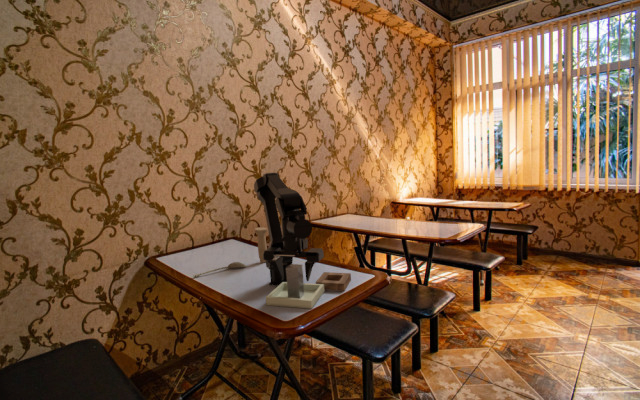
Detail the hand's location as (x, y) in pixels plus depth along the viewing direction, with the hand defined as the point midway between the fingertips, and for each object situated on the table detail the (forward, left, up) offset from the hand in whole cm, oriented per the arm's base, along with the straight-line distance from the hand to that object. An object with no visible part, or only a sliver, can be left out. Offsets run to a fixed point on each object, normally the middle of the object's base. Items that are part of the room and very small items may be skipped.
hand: (295, 280), depth 109 cm
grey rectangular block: (0, 0, -5) cm, 5 cm away
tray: (0, 0, -6) cm, 6 cm away
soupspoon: (-42, +20, -7) cm, 47 cm away
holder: (+9, +13, -6) cm, 17 cm away
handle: (-29, +34, -6) cm, 45 cm away
